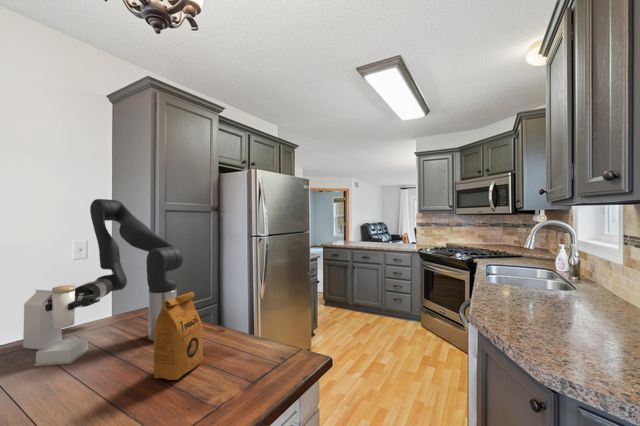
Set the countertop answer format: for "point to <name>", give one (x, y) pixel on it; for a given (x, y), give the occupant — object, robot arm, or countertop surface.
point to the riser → (61, 352)
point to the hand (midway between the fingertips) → (58, 307)
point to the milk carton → (39, 322)
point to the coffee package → (177, 338)
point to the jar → (62, 306)
